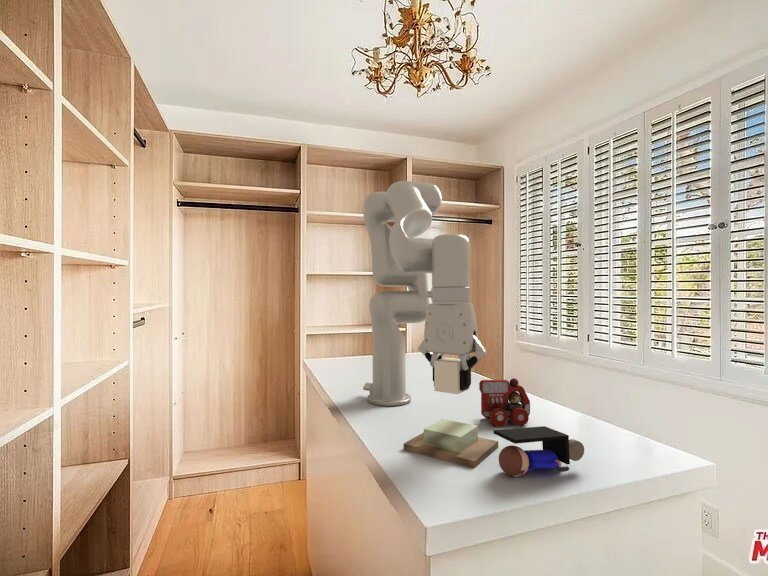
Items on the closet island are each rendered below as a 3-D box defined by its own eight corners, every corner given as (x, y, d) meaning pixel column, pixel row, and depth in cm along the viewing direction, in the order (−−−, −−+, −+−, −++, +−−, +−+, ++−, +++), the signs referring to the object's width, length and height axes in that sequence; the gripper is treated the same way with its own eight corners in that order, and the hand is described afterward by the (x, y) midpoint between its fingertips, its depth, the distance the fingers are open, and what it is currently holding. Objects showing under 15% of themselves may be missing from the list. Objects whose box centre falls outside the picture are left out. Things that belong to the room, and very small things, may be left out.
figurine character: (555, 465, 80) (488, 468, 74) (558, 424, 80) (492, 424, 74) (584, 480, 73) (513, 484, 68) (587, 435, 74) (517, 436, 68)
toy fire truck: (536, 425, 98) (536, 381, 98) (485, 427, 97) (485, 382, 97) (523, 417, 105) (523, 375, 105) (475, 418, 104) (475, 376, 104)
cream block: (434, 390, 83) (434, 360, 83) (446, 386, 87) (445, 357, 87) (457, 394, 80) (457, 362, 80) (468, 389, 84) (468, 359, 84)
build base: (403, 449, 83) (403, 428, 83) (432, 432, 93) (432, 413, 93) (474, 467, 75) (474, 444, 75) (498, 447, 84) (498, 426, 85)
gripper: (405, 296, 86) (405, 385, 86) (484, 296, 76) (485, 397, 76) (423, 296, 92) (423, 379, 92) (498, 296, 82) (499, 389, 82)
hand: (451, 386), depth 84 cm, fingers closed on cream block, 5 cm apart
